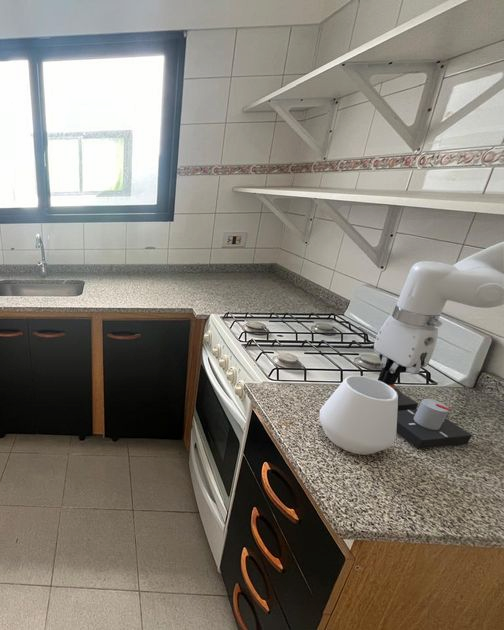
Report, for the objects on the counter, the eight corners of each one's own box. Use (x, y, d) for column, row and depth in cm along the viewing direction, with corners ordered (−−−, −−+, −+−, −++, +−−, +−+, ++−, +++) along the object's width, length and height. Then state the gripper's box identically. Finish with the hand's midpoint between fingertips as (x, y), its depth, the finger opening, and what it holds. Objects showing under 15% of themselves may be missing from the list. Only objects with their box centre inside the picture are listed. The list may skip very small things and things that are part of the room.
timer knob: (410, 421, 78) (420, 402, 75) (416, 413, 80) (425, 395, 78) (437, 432, 74) (447, 413, 72) (442, 424, 77) (452, 405, 74)
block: (382, 388, 93) (387, 376, 91) (415, 410, 85) (421, 397, 83) (344, 391, 92) (349, 379, 90) (374, 414, 83) (380, 401, 82)
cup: (384, 474, 68) (411, 418, 62) (307, 439, 76) (324, 387, 70) (391, 437, 76) (416, 386, 71) (321, 410, 85) (338, 362, 79)
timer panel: (425, 416, 83) (429, 407, 82) (467, 443, 75) (472, 434, 74) (380, 420, 82) (384, 411, 80) (418, 449, 73) (423, 439, 72)
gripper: (465, 330, 72) (429, 401, 80) (398, 303, 85) (372, 365, 93) (433, 332, 71) (400, 403, 79) (370, 304, 85) (347, 367, 92)
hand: (385, 382), depth 86 cm, fingers closed
